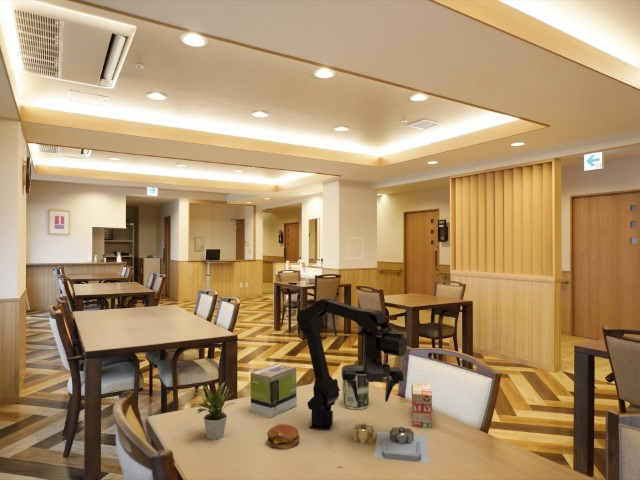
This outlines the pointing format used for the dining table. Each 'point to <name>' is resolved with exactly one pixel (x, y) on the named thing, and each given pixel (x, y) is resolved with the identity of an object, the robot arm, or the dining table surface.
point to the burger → (283, 436)
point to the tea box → (273, 390)
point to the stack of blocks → (421, 405)
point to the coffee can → (362, 392)
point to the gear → (401, 435)
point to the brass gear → (363, 433)
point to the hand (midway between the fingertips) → (371, 401)
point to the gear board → (401, 448)
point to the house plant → (214, 413)
